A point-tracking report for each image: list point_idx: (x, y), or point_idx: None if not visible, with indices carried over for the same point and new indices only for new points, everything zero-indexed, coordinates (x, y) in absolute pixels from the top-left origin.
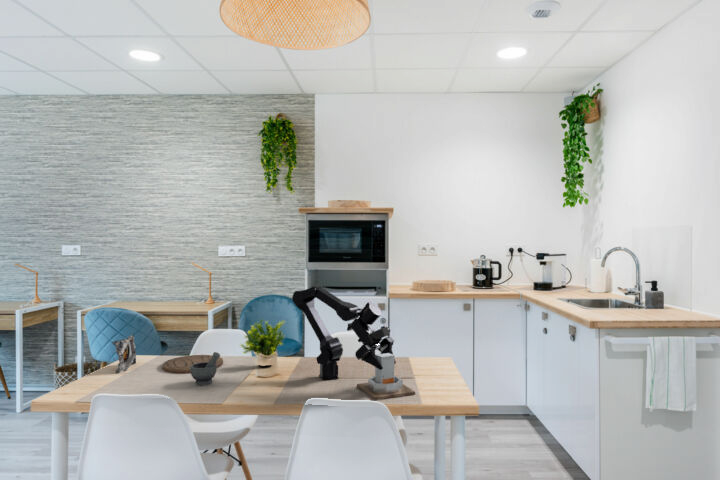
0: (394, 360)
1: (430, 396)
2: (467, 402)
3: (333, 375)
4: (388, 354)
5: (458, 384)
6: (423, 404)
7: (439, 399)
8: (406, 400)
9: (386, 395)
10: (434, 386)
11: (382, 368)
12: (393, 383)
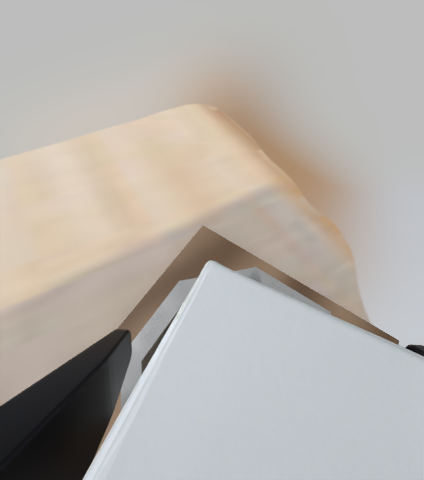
0: (111, 345)
1: (192, 186)
2: (185, 109)
3: None
4: (249, 402)
5: (17, 158)
6: (276, 178)
7: (204, 159)
8: (283, 231)
9: (331, 305)
10: (68, 211)
11: (415, 345)
12: (279, 289)
